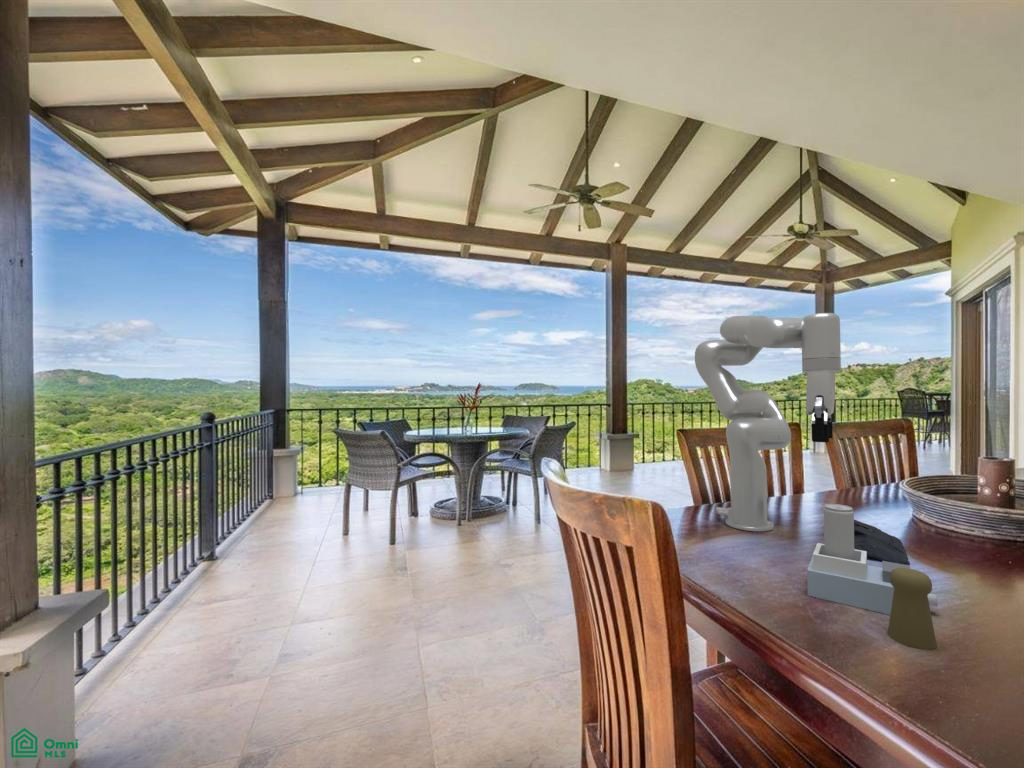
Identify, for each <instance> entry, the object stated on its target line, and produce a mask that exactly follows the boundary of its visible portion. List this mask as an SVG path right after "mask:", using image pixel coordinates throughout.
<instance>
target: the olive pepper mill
mask: <svg viewBox="0 0 1024 768" xmlns="http://www.w3.org/2000/svg"><path fill="white" fill-rule="evenodd" d="M890 582H891V585H892V586H893V587H894V594H893V600H892V607H891V613H890V615H889V619H888V620H889V621H888V628H887V635H888V636H890V637H889V638H890V639H892V640H893V639H894V640H893V641H895V642H897V643H899V644H901V643H902V644H901V645H905V646H906V645H907V646H906V647H910V648H914V649H918V650H934V649H936V648H937V647H938V646H937V645H938V644H937V639H936V634H935V629H934V623H933V618H932V612H931V607H930V606H931V605H929V601H928V594H929V593H931V594H932V590H933V583H932V579H931V577H929V575H927V574H926V573H924V572H922V571H920V570H917V569H913V568H910V569H909V568H895V569H893V570H892V571H891V573H890Z"/></svg>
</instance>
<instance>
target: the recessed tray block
mask: <svg viewBox="0 0 1024 768" xmlns="http://www.w3.org/2000/svg"><path fill="white" fill-rule="evenodd" d="M881 565H882V567H879V566H875V565H869V564H868V557H867V551H862V550H856V549H854V560H849V559H843V558H838V557H832V556H826V555H825V544H824V543H820V542H818V543H816V546H815V547H814V550H813V553H812V556H811V559H810V562H809V564H808V567H807V569H806V572H807V576H806V578H807V585H806V586H807V596H808V597H811V596H812V597H811V598H815V597H816V599H819V600H820V599H821V600H825V601H829V602H834V603H839V604H842V605H847V606H851V607H855V608H859V609H864V610H867V609H868V611H873V612H877V613H882V614H885V615H888V616H890V613H891V607H892V600H893V594H894V587H893V586H892V585H891V582H890V573H891V571H892V570H893V569H895V568H909V569H911V564H910V565H904V564H898V563H892V562H887V561H882V564H881ZM928 601H929V606H932V607H938V606H939V605H938V595H937V594H936V593H935V594H934V593H932V592H931V593H929V594H928Z"/></svg>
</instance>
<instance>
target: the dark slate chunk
mask: <svg viewBox="0 0 1024 768" xmlns="http://www.w3.org/2000/svg"><path fill="white" fill-rule="evenodd" d="M854 549H856V550H862V551H867V559H873V560H877V561H887V562H892V563H898V564H904V565H910V566H911V563H910V561H909V557H908V553H907V550H906V549H905V547H904V545H903V542H902V540H901V539H900V538H898V537H896V536H893V535H890V534H889V533H887V532H885V531H882V530H881V529H880V528H878V527H876V526H873V525H870V524H867V523H865V522H862V521H860V520H857V519H854Z"/></svg>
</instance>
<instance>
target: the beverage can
mask: <svg viewBox="0 0 1024 768" xmlns="http://www.w3.org/2000/svg"><path fill="white" fill-rule="evenodd" d="M853 510H854V508H853V507H852V506H848V505H844V504H839V503H827V504H824V508H823V535H824V541H823V542H824V543H823V544H825V555H826V556H832V557H838V558H843V559H849V560H854V520H855V517H854V516H855V512H854V511H853Z"/></svg>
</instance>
